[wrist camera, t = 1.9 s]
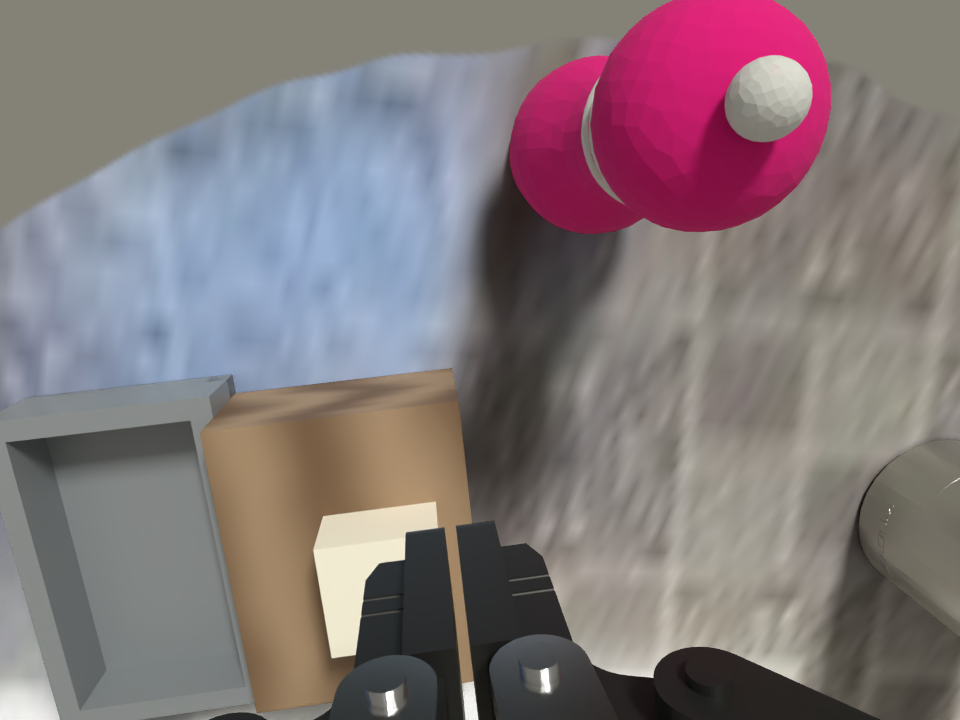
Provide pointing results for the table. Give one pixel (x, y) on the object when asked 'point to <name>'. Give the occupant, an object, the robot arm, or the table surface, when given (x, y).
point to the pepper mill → (677, 121)
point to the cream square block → (360, 562)
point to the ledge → (325, 507)
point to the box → (123, 549)
